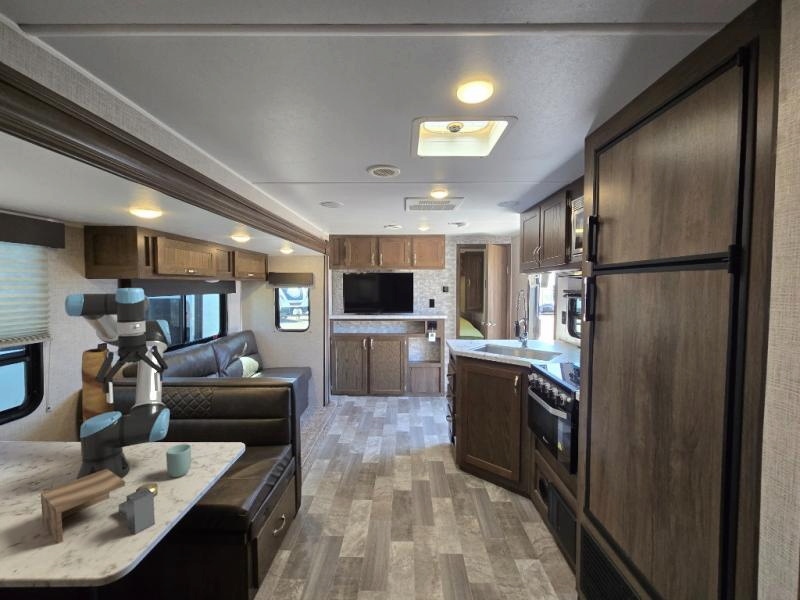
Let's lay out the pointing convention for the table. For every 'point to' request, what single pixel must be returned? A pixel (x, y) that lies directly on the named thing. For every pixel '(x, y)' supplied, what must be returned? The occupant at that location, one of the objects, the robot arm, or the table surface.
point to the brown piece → (76, 498)
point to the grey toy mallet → (139, 510)
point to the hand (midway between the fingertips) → (134, 396)
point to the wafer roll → (94, 384)
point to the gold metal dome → (150, 488)
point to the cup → (178, 460)
